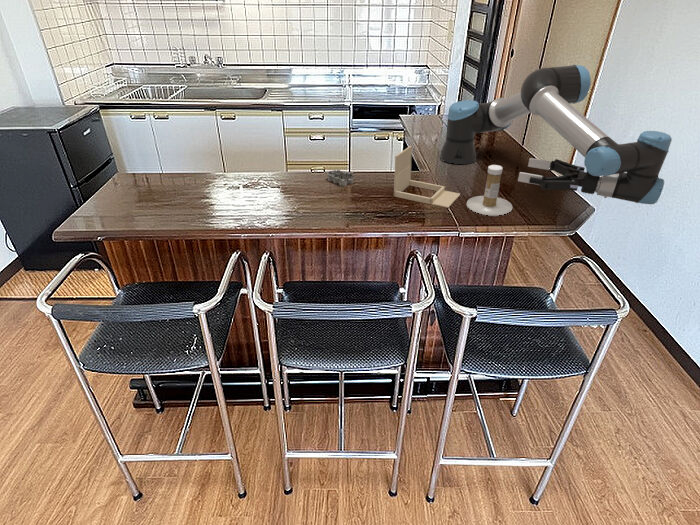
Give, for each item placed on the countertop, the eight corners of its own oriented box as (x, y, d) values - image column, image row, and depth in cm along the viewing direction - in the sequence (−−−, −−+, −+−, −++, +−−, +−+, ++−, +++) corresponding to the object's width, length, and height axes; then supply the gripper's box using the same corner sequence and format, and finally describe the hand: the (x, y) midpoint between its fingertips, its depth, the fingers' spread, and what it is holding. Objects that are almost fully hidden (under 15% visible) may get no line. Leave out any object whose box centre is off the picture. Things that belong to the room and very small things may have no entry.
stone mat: (487, 193, 158) (487, 192, 157) (521, 208, 147) (522, 206, 147) (457, 204, 151) (457, 202, 150) (491, 220, 140) (491, 218, 140)
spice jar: (481, 201, 151) (486, 164, 143) (494, 201, 150) (500, 164, 143) (484, 207, 147) (490, 169, 139) (498, 207, 147) (504, 169, 139)
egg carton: (356, 183, 170) (356, 173, 168) (341, 188, 166) (340, 178, 164) (340, 175, 177) (339, 165, 175) (325, 179, 173) (324, 170, 171)
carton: (460, 194, 158) (465, 154, 149) (448, 208, 149) (452, 165, 140) (408, 184, 167) (410, 145, 159) (393, 196, 158) (395, 155, 150)
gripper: (590, 210, 121) (511, 194, 130) (599, 179, 139) (530, 167, 148) (598, 185, 117) (516, 171, 126) (606, 156, 135) (535, 145, 144)
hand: (523, 169), depth 137 cm, fingers open, 13 cm apart
